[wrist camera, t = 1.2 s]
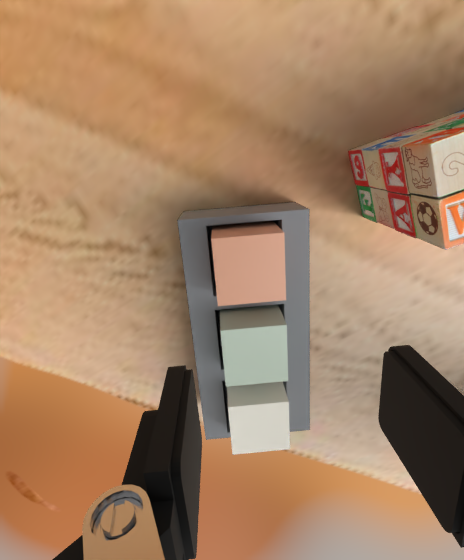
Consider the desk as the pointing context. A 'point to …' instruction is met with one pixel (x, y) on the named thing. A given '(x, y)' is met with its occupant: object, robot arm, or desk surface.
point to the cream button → (258, 417)
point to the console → (207, 312)
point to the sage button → (254, 345)
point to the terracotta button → (249, 263)
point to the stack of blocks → (415, 181)
